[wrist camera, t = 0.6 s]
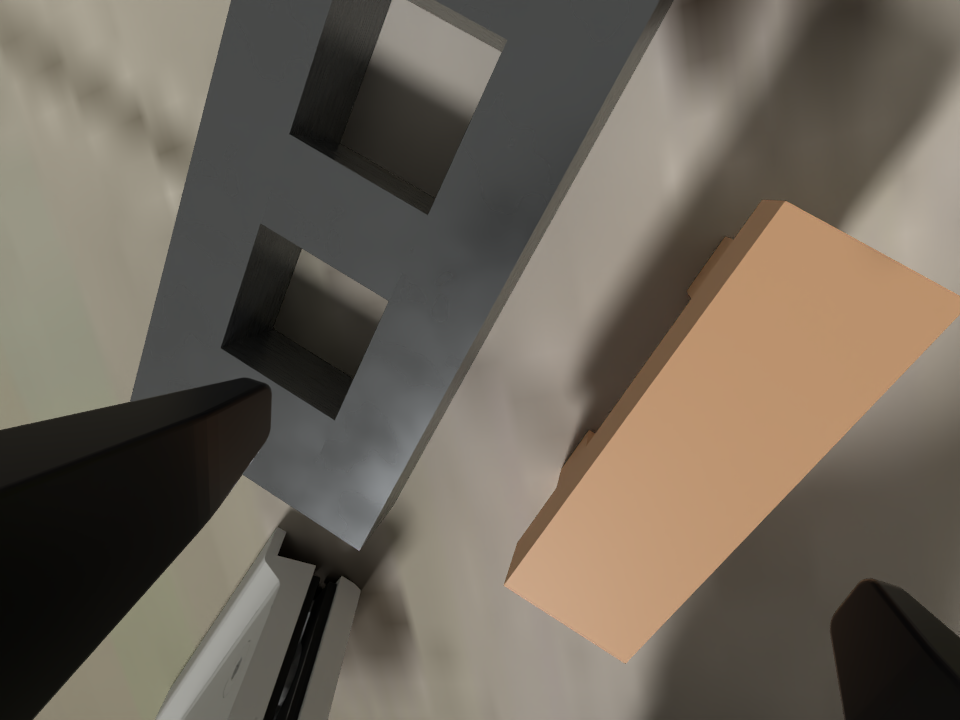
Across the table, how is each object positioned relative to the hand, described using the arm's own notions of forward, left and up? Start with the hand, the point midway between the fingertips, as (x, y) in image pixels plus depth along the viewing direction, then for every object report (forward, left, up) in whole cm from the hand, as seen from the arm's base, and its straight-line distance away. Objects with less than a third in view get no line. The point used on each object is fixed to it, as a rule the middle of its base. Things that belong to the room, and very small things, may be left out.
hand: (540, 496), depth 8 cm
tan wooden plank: (-4, 0, -11) cm, 12 cm away
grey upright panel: (+5, +25, -12) cm, 28 cm away
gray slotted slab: (+9, 0, -11) cm, 14 cm away
